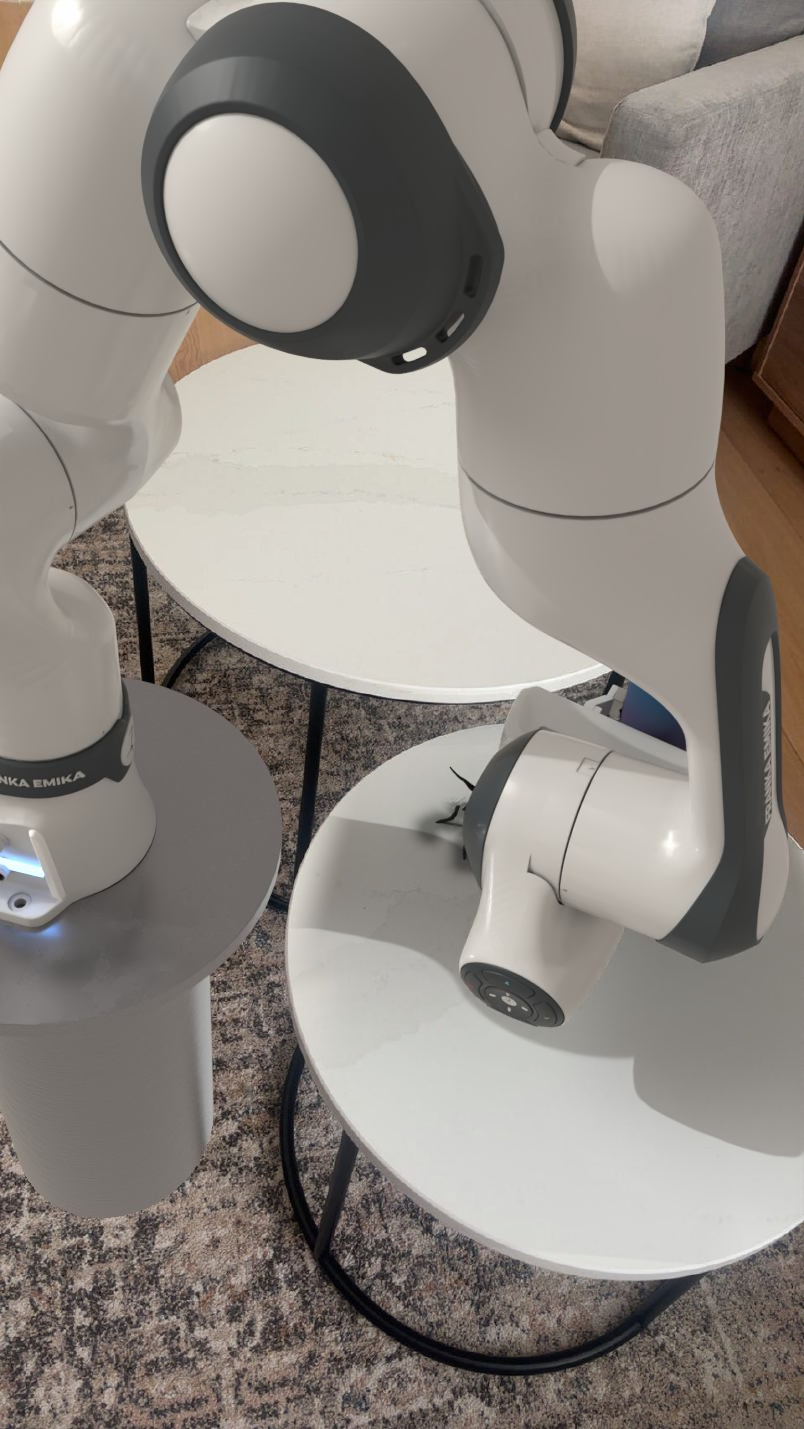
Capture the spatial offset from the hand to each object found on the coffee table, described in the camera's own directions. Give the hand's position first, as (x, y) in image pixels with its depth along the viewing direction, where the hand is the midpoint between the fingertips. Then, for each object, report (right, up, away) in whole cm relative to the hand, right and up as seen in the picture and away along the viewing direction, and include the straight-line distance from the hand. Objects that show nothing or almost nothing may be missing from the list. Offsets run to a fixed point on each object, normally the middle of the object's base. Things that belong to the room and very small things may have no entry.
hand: (662, 712), depth 86 cm
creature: (-15, -11, +7) cm, 19 cm away
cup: (-1, -6, +5) cm, 8 cm away
